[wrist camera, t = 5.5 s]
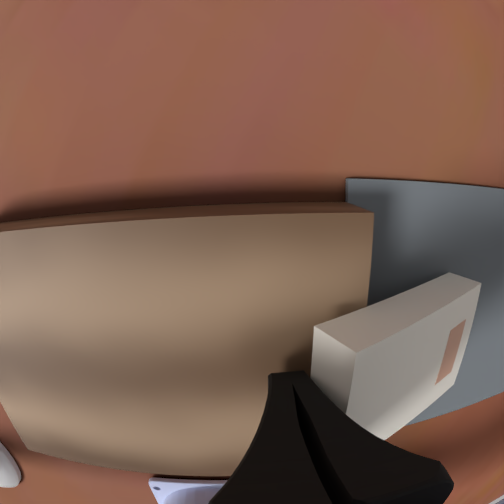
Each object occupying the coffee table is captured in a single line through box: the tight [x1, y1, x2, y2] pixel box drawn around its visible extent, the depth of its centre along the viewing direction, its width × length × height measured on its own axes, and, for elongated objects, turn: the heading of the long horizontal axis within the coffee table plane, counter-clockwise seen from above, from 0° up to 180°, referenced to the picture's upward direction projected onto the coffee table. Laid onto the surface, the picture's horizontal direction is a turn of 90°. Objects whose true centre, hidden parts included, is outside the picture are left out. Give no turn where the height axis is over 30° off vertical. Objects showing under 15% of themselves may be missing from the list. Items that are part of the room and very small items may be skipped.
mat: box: [345, 178, 504, 426], centre depth 15 cm, size 15×16×1 cm
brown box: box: [0, 202, 374, 476], centre depth 13 cm, size 13×18×3 cm
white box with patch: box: [310, 272, 481, 440], centre depth 12 cm, size 9×6×2 cm, turn 92°
